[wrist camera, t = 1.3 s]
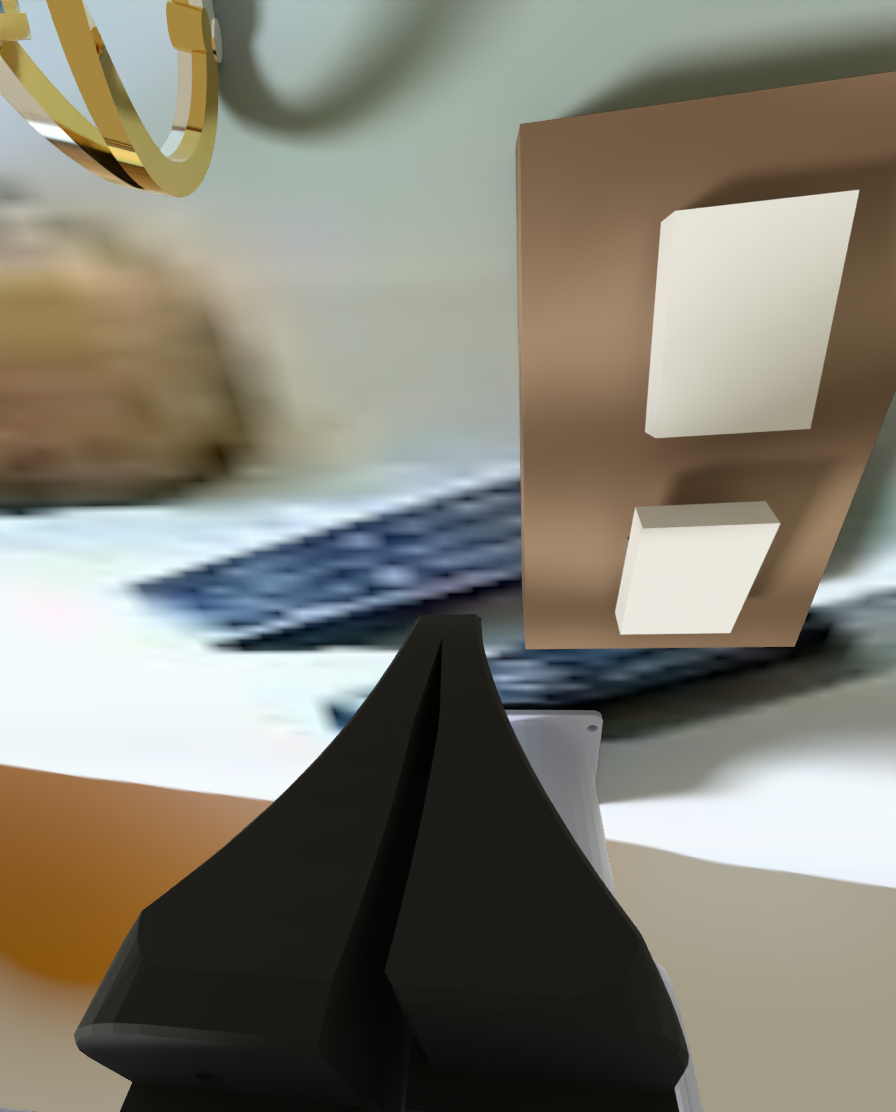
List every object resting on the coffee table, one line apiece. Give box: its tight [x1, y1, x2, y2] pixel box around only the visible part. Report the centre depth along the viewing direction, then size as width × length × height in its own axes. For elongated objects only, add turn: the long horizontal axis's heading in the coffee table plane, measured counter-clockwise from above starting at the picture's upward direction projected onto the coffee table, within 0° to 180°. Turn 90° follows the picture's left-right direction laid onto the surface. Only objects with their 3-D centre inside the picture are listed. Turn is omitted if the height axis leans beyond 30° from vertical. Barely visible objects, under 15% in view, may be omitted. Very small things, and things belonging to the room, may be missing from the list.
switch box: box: [516, 71, 896, 649], centre depth 15 cm, size 16×10×4 cm, turn 6°
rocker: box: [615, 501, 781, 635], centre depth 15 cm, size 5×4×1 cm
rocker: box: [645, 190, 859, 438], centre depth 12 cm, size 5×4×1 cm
